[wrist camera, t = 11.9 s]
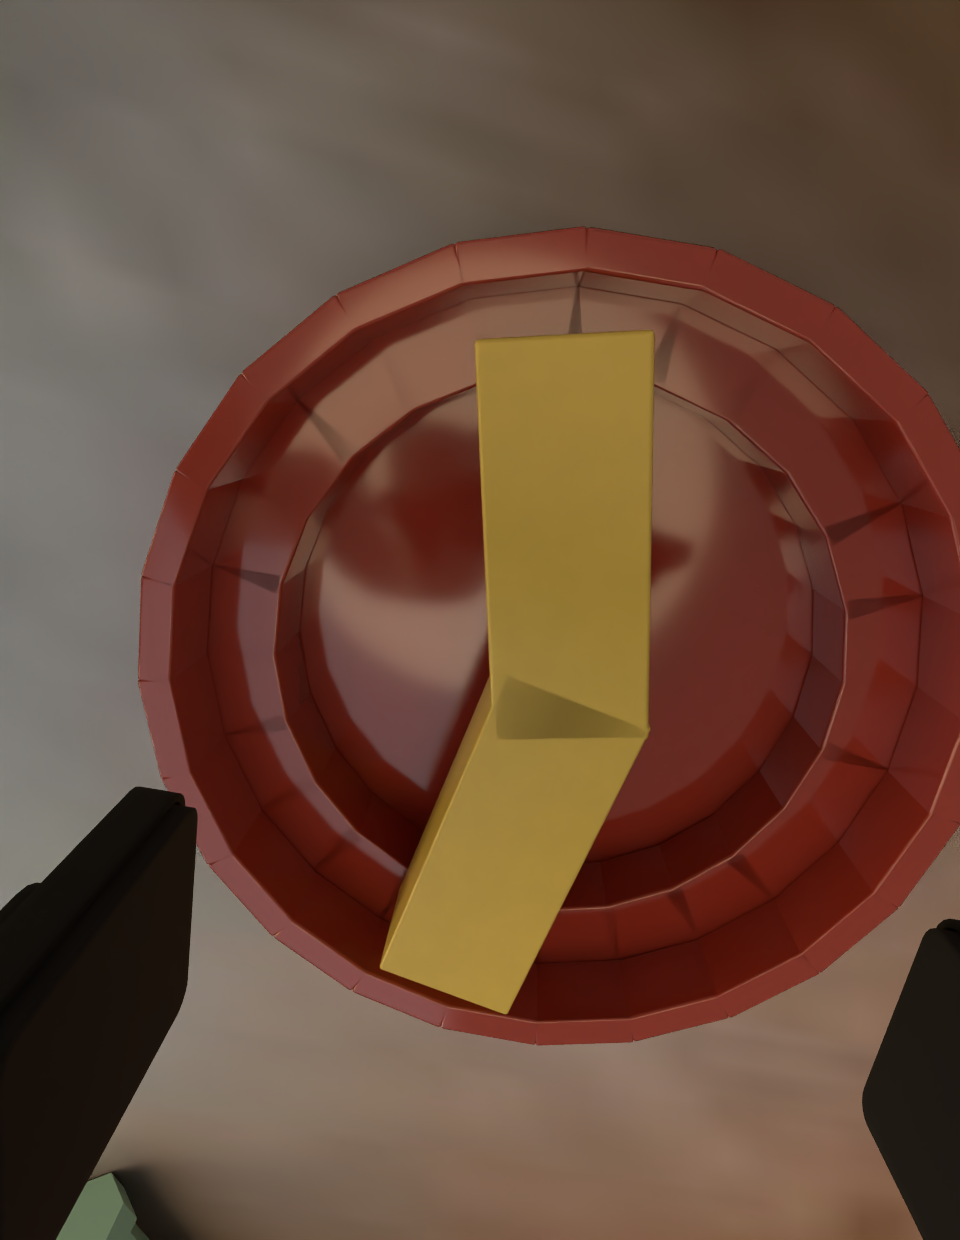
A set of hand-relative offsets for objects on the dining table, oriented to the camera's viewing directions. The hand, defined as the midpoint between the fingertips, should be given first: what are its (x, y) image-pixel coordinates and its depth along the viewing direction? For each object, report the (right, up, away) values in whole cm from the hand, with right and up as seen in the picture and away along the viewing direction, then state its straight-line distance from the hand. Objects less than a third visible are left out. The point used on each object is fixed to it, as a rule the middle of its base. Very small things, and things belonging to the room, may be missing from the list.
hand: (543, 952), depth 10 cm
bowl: (+1, +4, +13) cm, 13 cm away
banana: (0, +3, +10) cm, 10 cm away
